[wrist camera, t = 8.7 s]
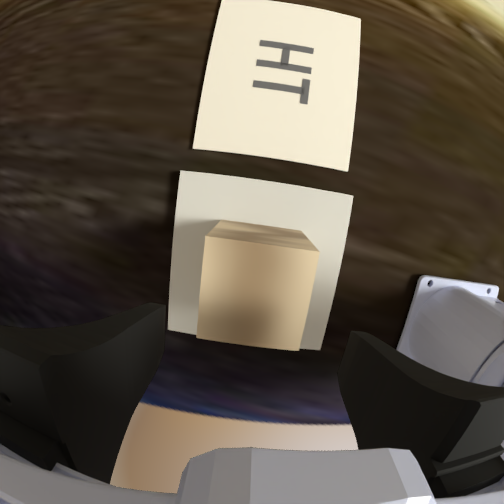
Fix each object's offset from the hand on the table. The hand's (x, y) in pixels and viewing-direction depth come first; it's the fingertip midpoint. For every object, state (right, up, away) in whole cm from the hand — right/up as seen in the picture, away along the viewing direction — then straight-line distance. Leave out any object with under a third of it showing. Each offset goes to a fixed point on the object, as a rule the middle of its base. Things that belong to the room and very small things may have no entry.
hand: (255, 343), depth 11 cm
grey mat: (0, +3, +9) cm, 9 cm away
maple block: (0, +3, +8) cm, 9 cm away
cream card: (+2, +15, +6) cm, 16 cm away
